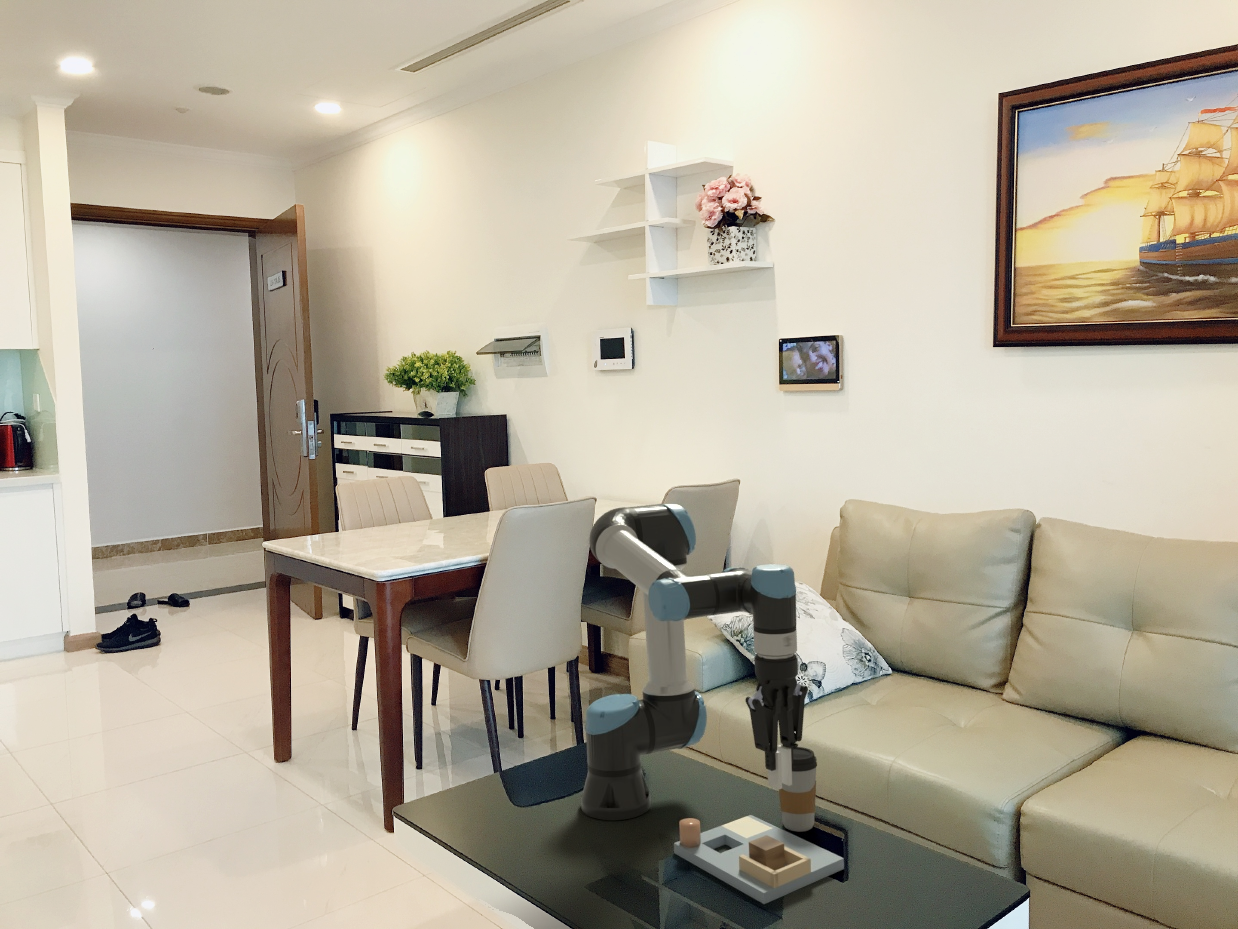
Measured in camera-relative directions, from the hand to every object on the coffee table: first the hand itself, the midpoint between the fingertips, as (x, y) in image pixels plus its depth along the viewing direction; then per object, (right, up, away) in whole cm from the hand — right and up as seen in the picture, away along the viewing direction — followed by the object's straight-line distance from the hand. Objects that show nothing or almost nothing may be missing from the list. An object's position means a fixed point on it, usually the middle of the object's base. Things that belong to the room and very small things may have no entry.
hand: (780, 784), depth 171 cm
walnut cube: (-2, -16, +4) cm, 17 cm away
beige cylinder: (-15, -16, +15) cm, 27 cm away
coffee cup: (+8, -17, +26) cm, 32 cm away
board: (-3, -18, +11) cm, 21 cm away
